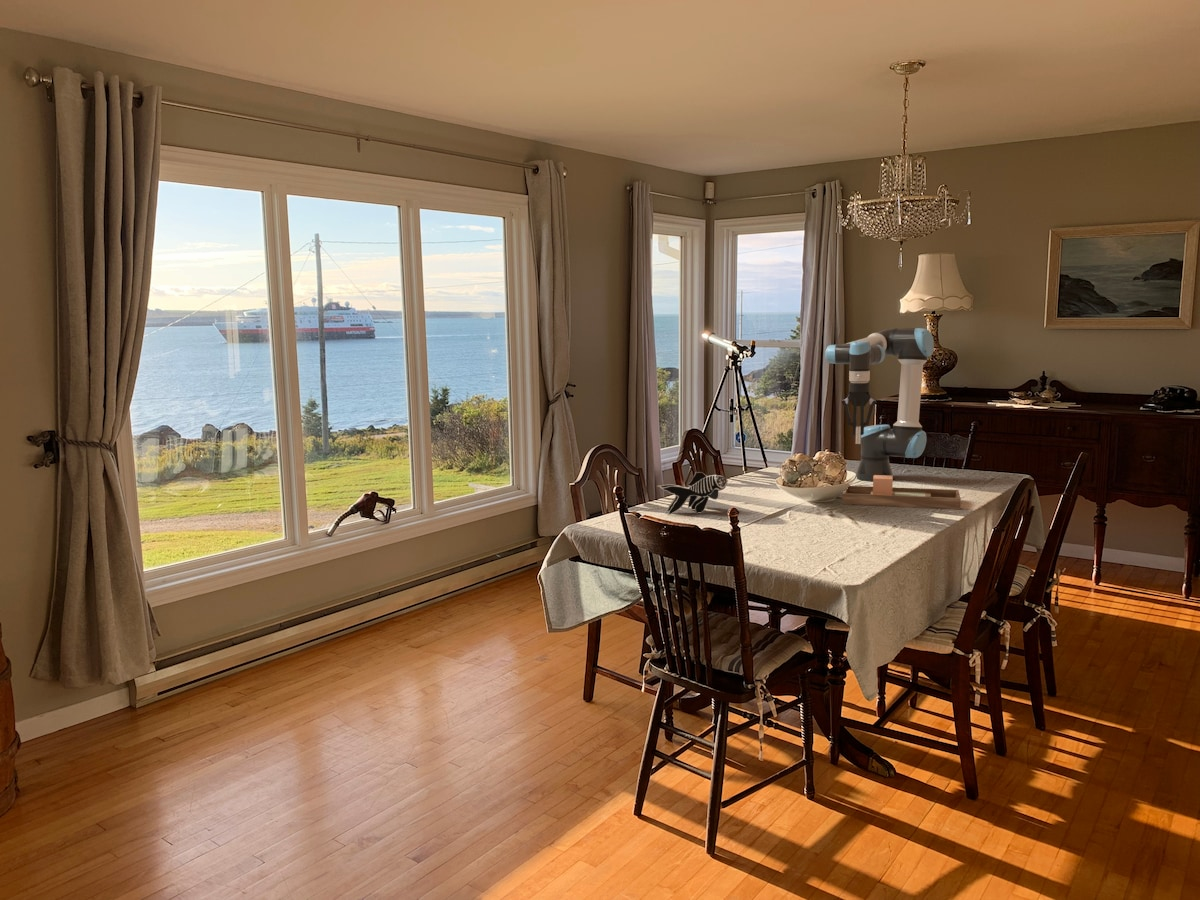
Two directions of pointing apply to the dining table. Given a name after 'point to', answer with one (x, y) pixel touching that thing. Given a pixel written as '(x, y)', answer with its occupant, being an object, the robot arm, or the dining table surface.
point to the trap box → (903, 497)
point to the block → (882, 485)
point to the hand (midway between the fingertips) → (858, 443)
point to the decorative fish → (695, 492)
